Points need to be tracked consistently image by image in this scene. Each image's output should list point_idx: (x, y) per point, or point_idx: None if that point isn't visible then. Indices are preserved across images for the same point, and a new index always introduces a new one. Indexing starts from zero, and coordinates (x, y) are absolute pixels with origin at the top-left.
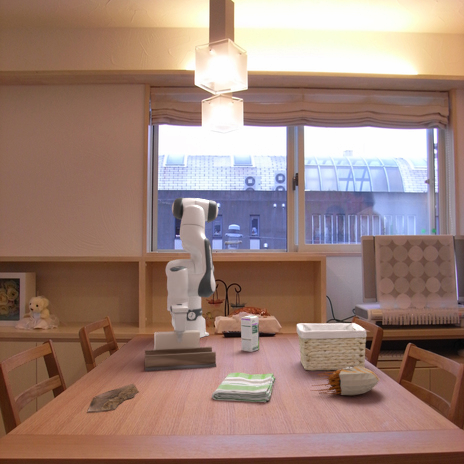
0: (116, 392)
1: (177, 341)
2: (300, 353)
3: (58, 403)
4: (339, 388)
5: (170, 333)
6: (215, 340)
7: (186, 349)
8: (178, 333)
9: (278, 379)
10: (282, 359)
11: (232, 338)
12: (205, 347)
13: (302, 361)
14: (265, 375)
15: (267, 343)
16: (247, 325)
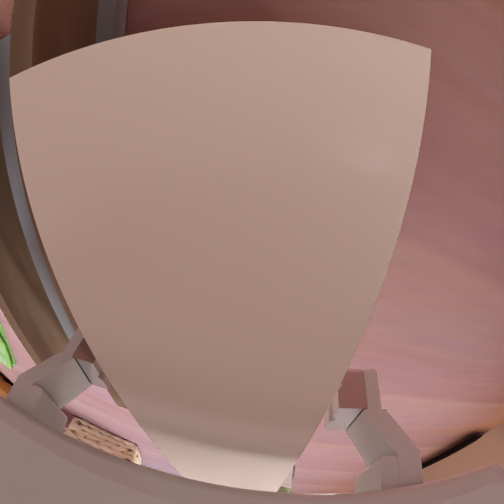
0: None
1: (78, 327)
2: (128, 456)
3: None
4: None
5: (120, 375)
6: (462, 420)
7: (71, 318)
8: (22, 388)
9: (17, 365)
10: (150, 441)
11: (441, 444)
12: (114, 393)
13: (105, 437)
14: (3, 357)
15: (324, 473)
16: None
